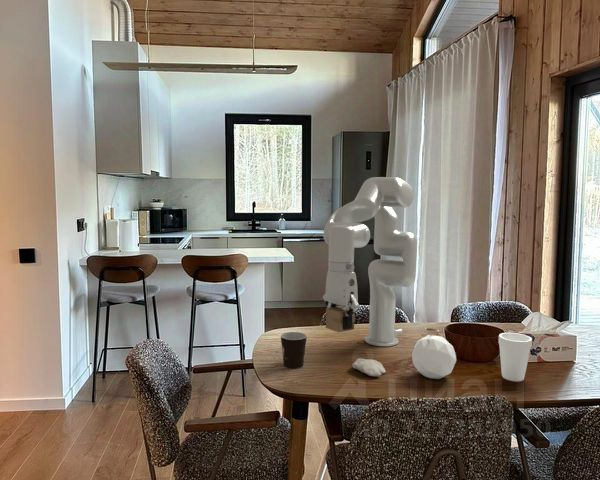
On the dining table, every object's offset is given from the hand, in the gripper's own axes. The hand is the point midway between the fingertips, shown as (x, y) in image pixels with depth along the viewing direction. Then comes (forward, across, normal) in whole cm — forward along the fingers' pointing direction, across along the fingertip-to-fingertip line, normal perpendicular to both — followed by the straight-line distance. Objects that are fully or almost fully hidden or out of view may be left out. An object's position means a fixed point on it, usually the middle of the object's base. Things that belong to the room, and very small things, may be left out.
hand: (340, 325), depth 150 cm
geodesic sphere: (+18, -14, -27) cm, 35 cm away
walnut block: (+1, 0, 0) cm, 1 cm away
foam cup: (+18, -29, -47) cm, 58 cm away
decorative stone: (+18, +1, -14) cm, 23 cm away
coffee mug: (+18, +20, +2) cm, 27 cm away
